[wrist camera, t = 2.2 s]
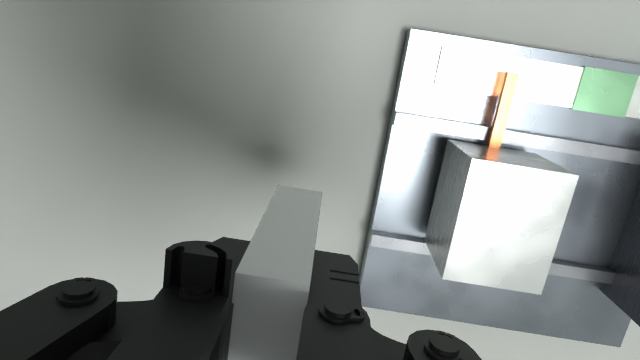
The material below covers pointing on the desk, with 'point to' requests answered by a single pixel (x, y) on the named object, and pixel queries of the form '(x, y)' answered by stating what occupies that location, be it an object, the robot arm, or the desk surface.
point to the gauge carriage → (498, 210)
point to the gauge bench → (524, 135)
